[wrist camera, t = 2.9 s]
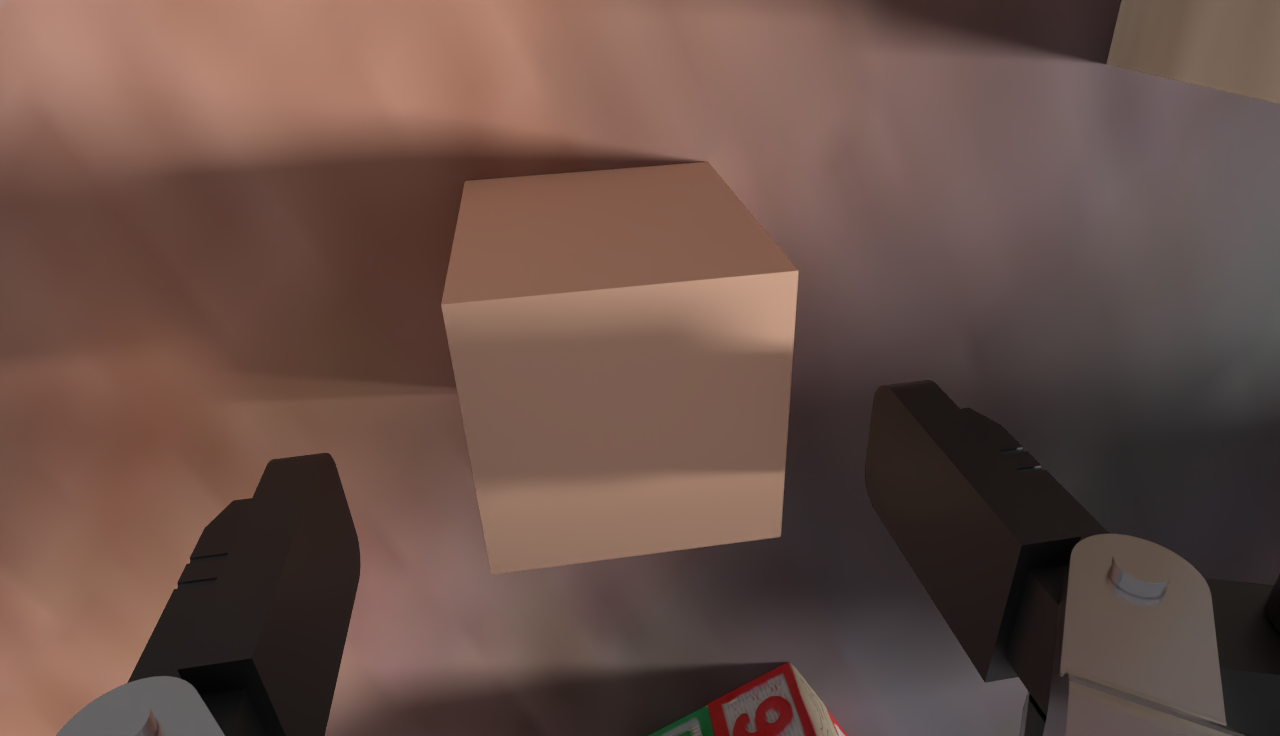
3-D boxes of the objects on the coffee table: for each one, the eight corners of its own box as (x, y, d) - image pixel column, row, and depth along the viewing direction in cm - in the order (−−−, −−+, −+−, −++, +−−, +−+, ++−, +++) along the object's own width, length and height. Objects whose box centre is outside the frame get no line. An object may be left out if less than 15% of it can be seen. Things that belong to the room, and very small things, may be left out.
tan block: (707, 161, 16) (799, 270, 11) (706, 368, 19) (780, 536, 13) (464, 180, 16) (441, 305, 10) (497, 390, 18) (491, 574, 13)
